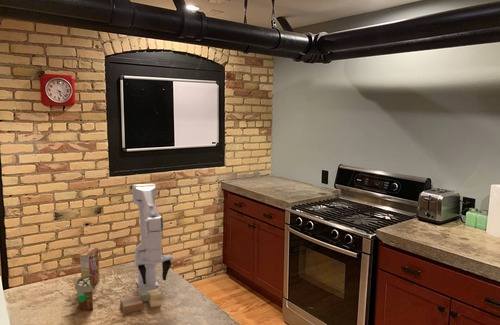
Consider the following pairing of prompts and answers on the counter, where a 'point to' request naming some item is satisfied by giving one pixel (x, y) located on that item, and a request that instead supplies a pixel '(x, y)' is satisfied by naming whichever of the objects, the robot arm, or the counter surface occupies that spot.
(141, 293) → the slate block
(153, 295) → the maple cube
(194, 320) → the counter surface
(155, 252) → the robot arm
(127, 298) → the walnut block
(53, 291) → the counter surface
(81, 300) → the food container
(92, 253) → the candy box
